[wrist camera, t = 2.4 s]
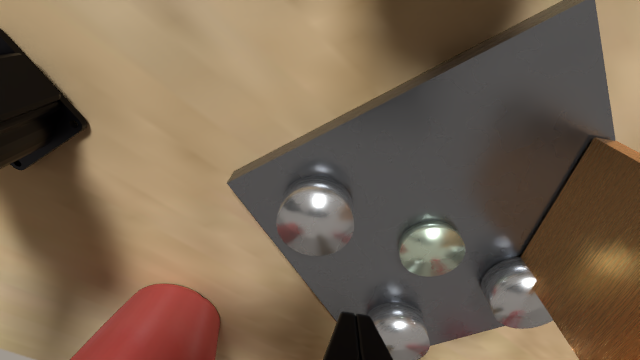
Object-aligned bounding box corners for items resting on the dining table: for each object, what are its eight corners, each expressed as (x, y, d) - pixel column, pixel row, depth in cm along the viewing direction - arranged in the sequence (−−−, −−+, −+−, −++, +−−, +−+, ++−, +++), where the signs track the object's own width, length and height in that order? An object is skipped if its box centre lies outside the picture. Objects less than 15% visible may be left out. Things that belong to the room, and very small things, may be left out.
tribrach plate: (367, 345, 29) (371, 386, 26) (233, 171, 21) (215, 201, 18) (620, 273, 23) (662, 315, 20) (572, -5, 15) (630, -5, 12)
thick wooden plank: (531, 307, 23) (628, 466, 15) (471, 298, 23) (538, 454, 15) (646, 145, 17) (911, 275, 9) (564, 132, 17) (761, 252, 9)
